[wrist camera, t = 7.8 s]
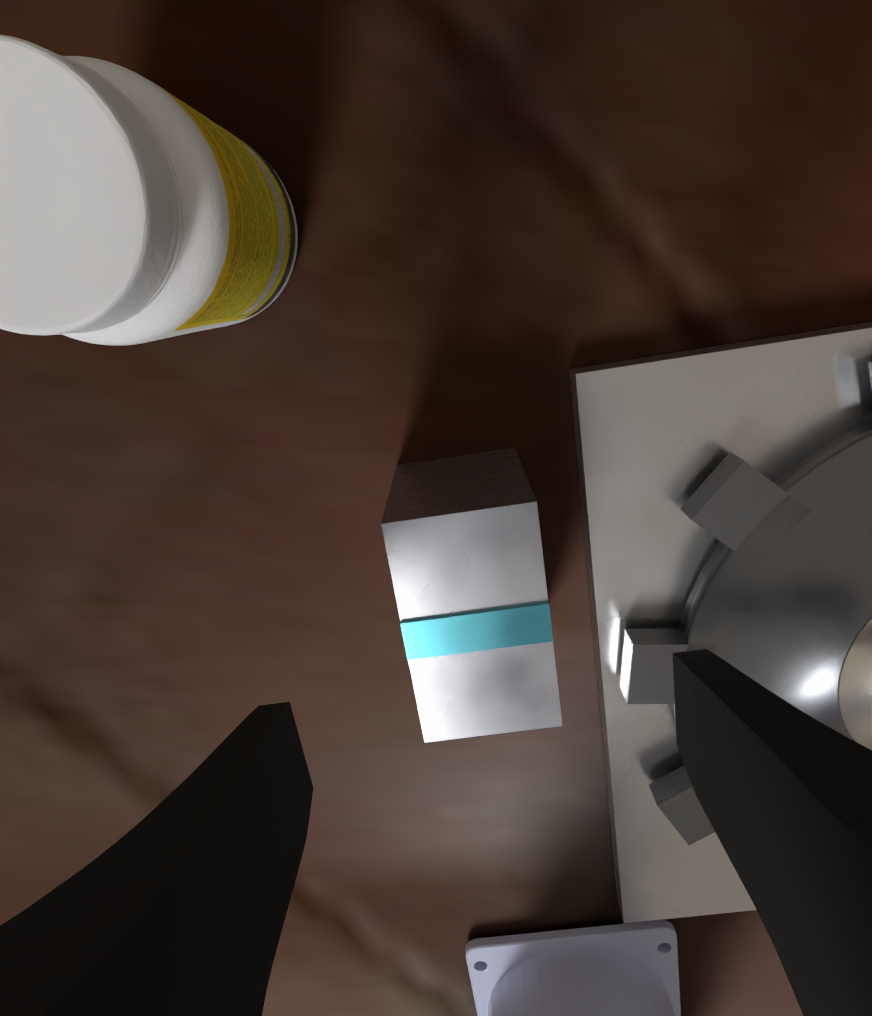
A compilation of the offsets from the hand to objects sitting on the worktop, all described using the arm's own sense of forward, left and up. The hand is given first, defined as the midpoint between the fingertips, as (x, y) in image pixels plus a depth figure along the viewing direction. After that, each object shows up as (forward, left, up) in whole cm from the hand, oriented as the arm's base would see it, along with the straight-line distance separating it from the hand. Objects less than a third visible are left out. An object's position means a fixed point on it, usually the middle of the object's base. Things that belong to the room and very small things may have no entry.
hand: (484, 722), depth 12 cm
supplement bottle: (+10, +5, -9) cm, 14 cm away
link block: (0, 0, -9) cm, 9 cm away
